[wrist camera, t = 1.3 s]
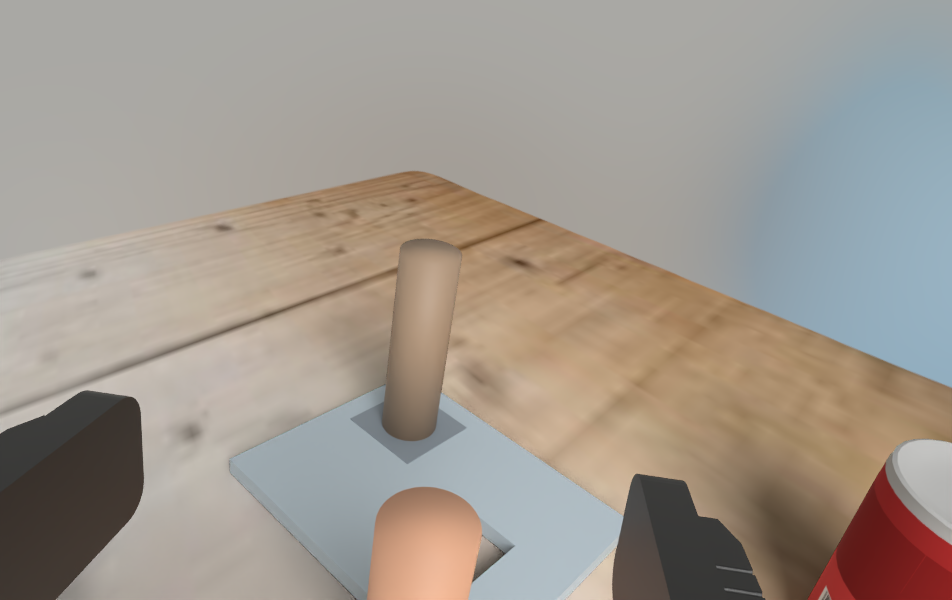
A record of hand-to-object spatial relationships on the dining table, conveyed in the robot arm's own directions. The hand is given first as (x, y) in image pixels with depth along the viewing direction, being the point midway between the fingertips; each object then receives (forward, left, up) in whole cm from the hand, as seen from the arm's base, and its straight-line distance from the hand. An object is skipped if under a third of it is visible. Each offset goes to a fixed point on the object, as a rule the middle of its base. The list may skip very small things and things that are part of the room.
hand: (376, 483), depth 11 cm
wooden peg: (-4, +6, -21) cm, 22 cm away
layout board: (-12, +16, -21) cm, 29 cm away
